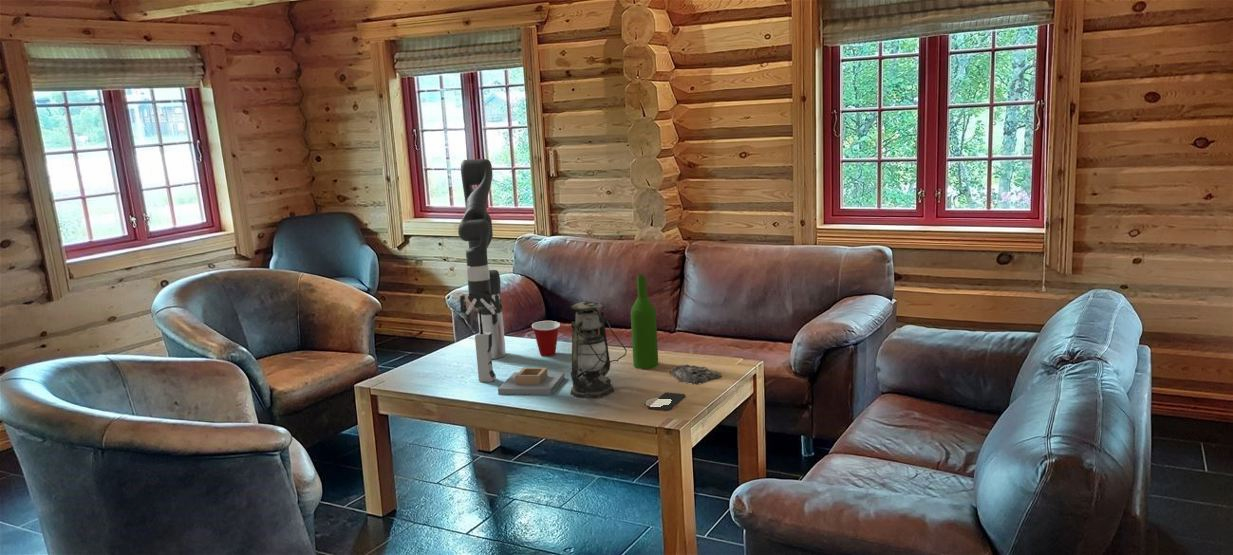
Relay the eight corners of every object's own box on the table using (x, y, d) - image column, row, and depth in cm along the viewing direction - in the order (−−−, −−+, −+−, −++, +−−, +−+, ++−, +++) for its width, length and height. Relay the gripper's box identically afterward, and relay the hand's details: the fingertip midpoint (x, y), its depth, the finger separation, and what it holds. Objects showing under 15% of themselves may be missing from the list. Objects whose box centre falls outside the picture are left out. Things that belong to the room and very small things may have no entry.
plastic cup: (540, 360, 331) (538, 329, 328) (529, 354, 340) (527, 323, 338) (567, 355, 335) (564, 324, 333) (555, 349, 345) (553, 319, 343)
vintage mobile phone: (492, 382, 307) (486, 311, 303) (478, 381, 308) (472, 311, 304) (496, 378, 311) (490, 309, 306) (482, 378, 312) (476, 309, 307)
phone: (646, 407, 271) (664, 392, 284) (647, 410, 271) (664, 394, 284) (669, 410, 268) (686, 394, 281) (669, 412, 268) (686, 396, 281)
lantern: (594, 380, 303) (589, 294, 297) (638, 388, 291) (633, 299, 285) (556, 395, 289) (550, 305, 283) (601, 405, 277) (595, 311, 271)
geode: (708, 387, 289) (727, 374, 302) (707, 376, 289) (726, 363, 301) (657, 381, 299) (677, 369, 312) (656, 370, 298) (676, 358, 311)
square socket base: (514, 377, 311) (513, 363, 310) (564, 377, 307) (563, 364, 306) (498, 394, 293) (497, 379, 292) (551, 394, 290) (549, 380, 289)
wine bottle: (663, 364, 317) (659, 274, 311) (648, 370, 310) (643, 279, 304) (643, 360, 322) (639, 272, 316) (628, 366, 316) (623, 277, 310)
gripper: (502, 275, 305) (505, 321, 308) (462, 276, 308) (467, 322, 311) (495, 279, 298) (499, 326, 301) (454, 280, 301) (459, 327, 304)
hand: (482, 324), depth 306 cm, fingers open, 8 cm apart
